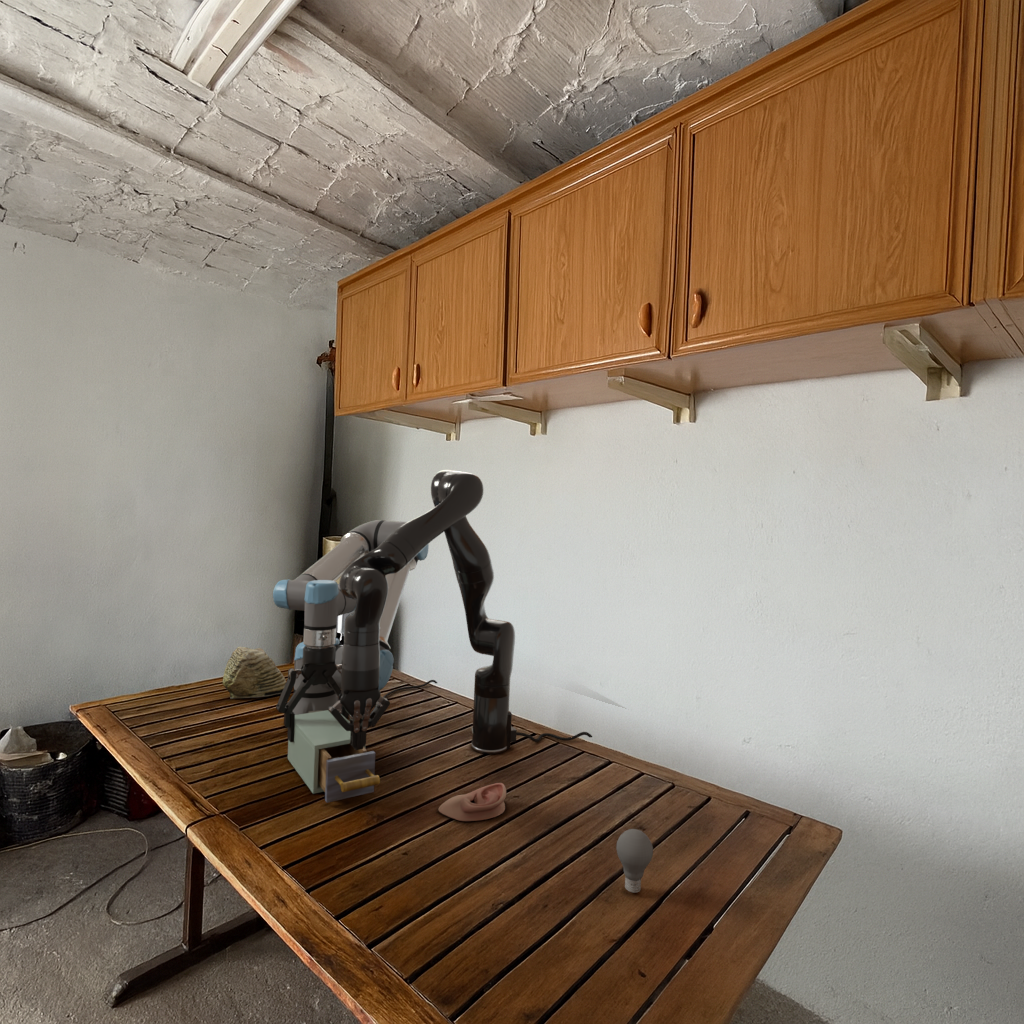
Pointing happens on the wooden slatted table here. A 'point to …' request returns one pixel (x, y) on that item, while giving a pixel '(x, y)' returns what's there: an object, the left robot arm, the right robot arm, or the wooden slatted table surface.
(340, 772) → the drawer
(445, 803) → the anatomical model
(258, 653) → the fossil
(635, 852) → the light bulb
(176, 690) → the wooden slatted table surface
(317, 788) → the cabinet
